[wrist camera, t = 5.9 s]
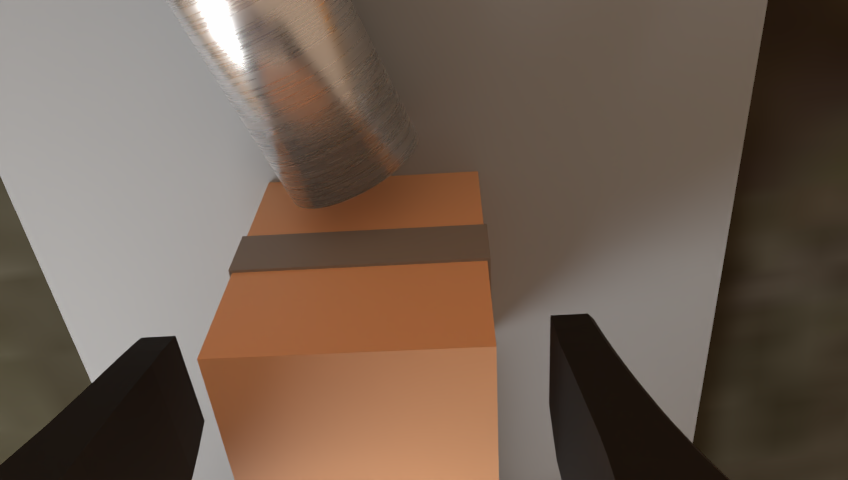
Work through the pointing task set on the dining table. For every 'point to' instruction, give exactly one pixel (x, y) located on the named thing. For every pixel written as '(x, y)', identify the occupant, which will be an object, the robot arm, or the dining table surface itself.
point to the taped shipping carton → (360, 338)
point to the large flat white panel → (435, 153)
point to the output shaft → (305, 91)
